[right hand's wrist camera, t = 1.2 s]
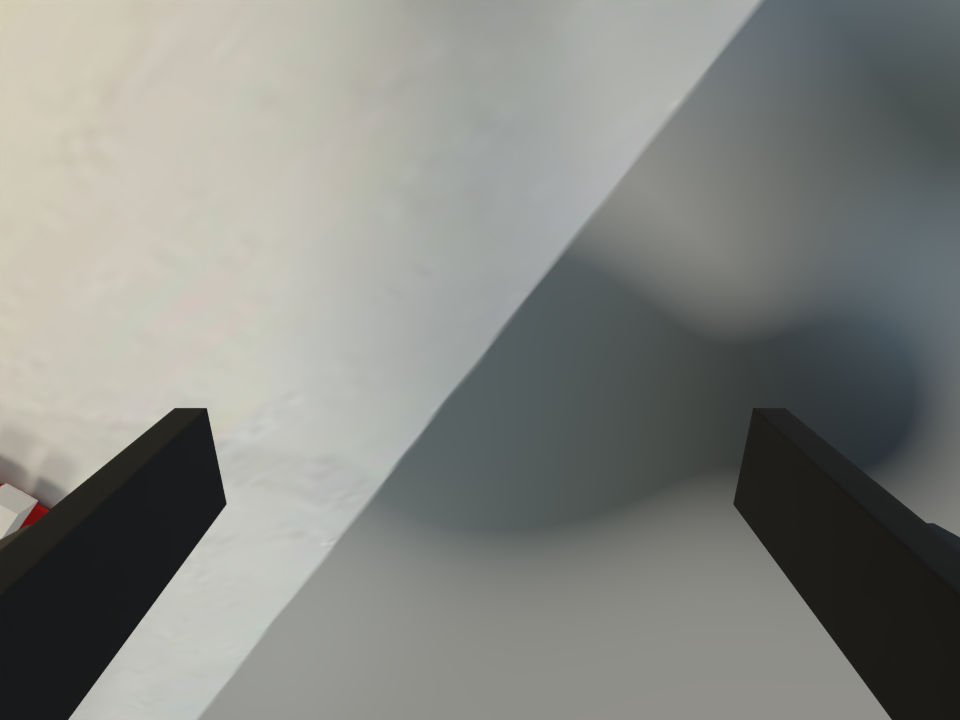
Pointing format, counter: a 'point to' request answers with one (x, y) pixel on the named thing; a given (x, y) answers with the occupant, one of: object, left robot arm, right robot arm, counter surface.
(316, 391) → the counter surface
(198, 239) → the counter surface
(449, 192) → the counter surface
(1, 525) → the toy
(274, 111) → the counter surface
